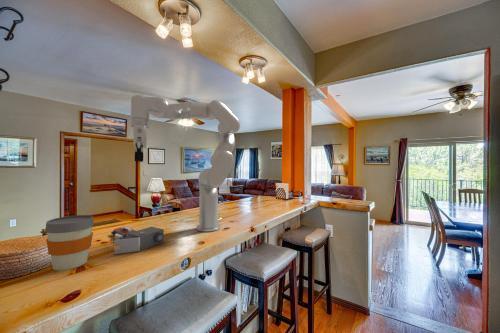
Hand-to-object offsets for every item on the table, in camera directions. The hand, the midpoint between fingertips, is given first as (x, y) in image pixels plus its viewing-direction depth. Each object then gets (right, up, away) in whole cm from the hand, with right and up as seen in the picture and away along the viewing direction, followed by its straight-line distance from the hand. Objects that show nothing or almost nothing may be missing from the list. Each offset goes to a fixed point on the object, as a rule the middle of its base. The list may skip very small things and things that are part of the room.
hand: (139, 161), depth 98 cm
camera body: (+7, -35, -7) cm, 36 cm away
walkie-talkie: (-6, -35, +1) cm, 36 cm away
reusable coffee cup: (-10, -35, -25) cm, 44 cm away
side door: (+4, -35, -16) cm, 39 cm away
